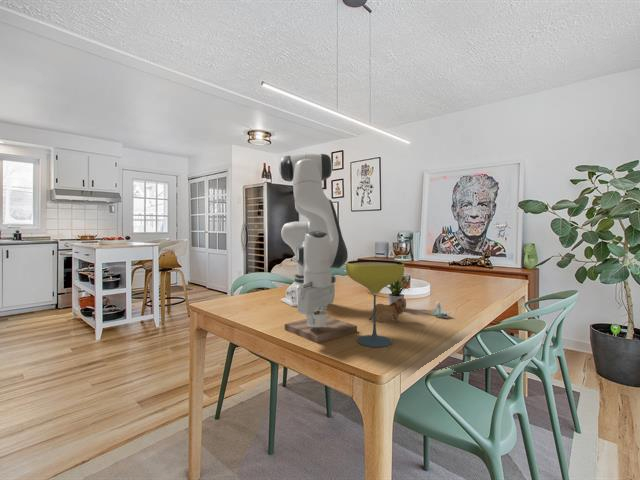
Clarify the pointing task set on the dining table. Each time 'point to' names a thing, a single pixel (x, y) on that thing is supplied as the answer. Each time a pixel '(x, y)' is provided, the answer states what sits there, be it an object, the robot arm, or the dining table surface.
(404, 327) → the dining table surface
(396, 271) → the cocktail glass
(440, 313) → the pacifier
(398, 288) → the house plant
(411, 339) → the dining table surface
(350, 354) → the dining table surface
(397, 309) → the lion figurine
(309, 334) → the board
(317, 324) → the white hollow tube
